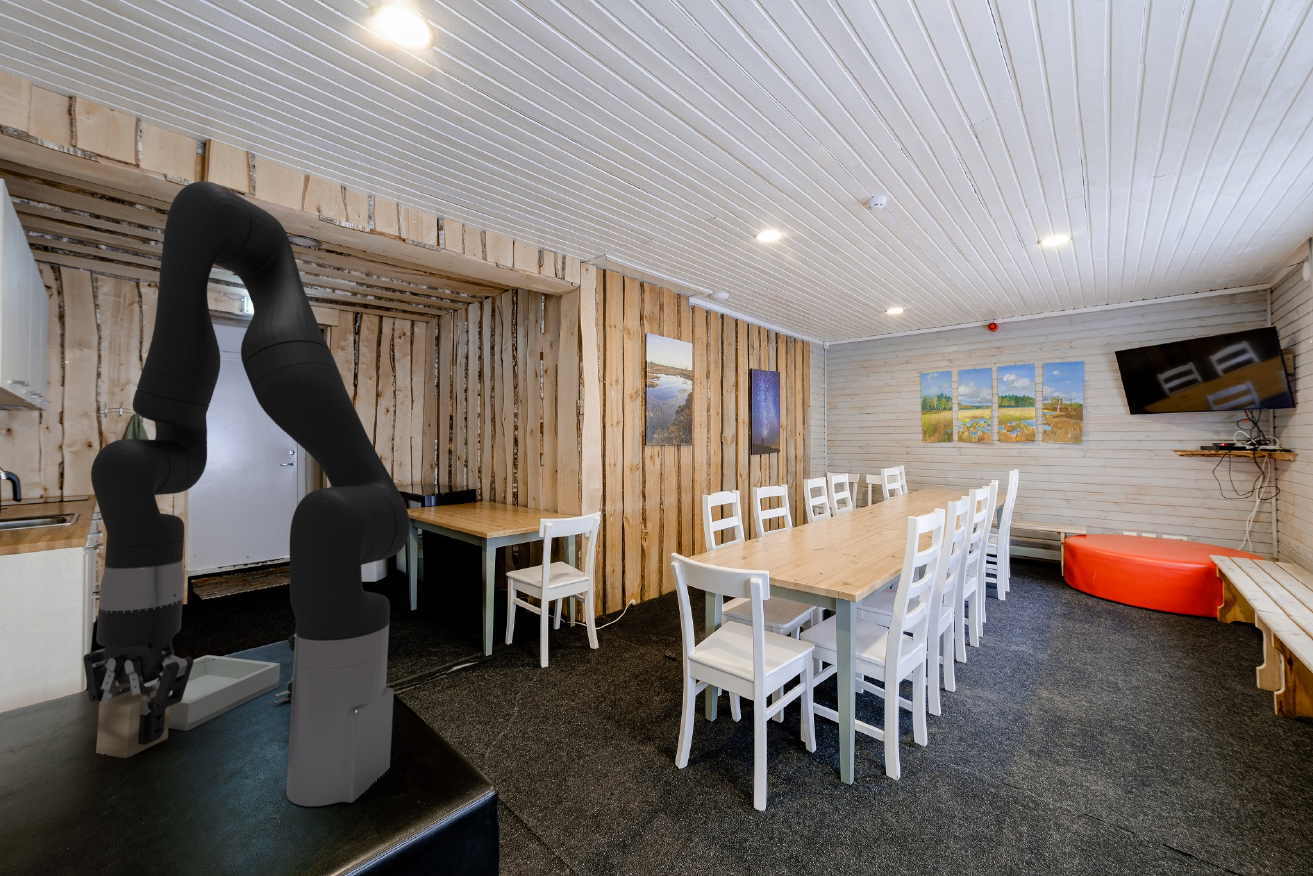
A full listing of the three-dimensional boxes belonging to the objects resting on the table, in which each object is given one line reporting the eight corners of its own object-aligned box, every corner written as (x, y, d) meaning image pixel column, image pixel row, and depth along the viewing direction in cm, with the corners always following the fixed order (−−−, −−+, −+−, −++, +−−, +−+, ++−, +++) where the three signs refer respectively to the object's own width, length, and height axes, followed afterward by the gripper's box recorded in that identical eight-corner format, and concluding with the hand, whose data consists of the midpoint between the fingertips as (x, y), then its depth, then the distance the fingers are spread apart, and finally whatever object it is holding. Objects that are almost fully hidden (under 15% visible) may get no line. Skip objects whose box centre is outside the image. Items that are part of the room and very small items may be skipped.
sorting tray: (278, 686, 82) (280, 663, 82) (187, 730, 69) (189, 703, 69) (205, 677, 84) (207, 654, 84) (103, 718, 71) (105, 691, 71)
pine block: (167, 738, 67) (170, 690, 67) (126, 758, 62) (129, 706, 62) (138, 733, 68) (141, 686, 68) (96, 753, 63) (99, 702, 63)
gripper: (220, 596, 68) (212, 730, 67) (130, 587, 70) (121, 717, 70) (156, 613, 61) (146, 764, 60) (58, 602, 63) (47, 747, 62)
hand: (133, 738), depth 65 cm, fingers closed on pine block, 4 cm apart
